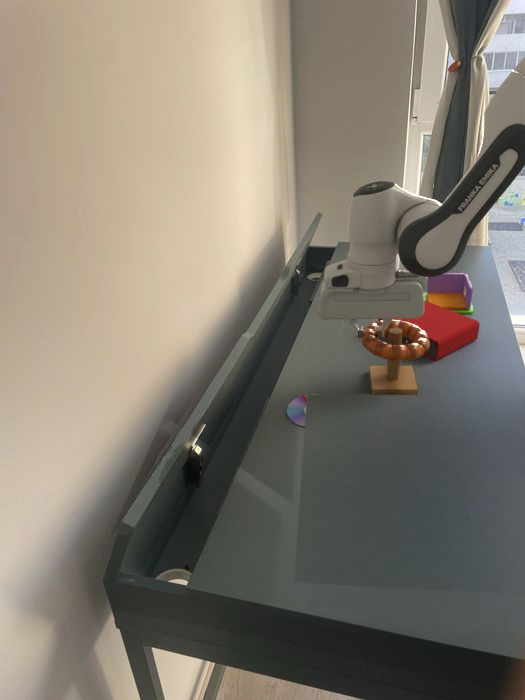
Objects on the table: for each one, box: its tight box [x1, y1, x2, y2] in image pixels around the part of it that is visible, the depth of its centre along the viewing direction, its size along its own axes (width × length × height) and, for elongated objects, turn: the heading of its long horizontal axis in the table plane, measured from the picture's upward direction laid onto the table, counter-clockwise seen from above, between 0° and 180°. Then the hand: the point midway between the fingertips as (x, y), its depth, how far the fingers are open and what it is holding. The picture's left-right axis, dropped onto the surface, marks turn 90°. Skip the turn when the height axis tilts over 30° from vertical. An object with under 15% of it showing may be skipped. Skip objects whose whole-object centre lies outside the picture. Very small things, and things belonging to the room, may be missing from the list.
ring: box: [361, 320, 430, 362], centre depth 106 cm, size 13×13×3 cm
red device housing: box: [378, 300, 480, 362], centre depth 125 cm, size 18×14×5 cm
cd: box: [286, 393, 323, 428], centre depth 104 cm, size 11×11×1 cm
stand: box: [368, 328, 419, 396], centre depth 108 cm, size 9×9×12 cm
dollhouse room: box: [423, 272, 475, 315], centre depth 139 cm, size 12×12×7 cm
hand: (369, 336), depth 106 cm, fingers closed on ring, 3 cm apart
